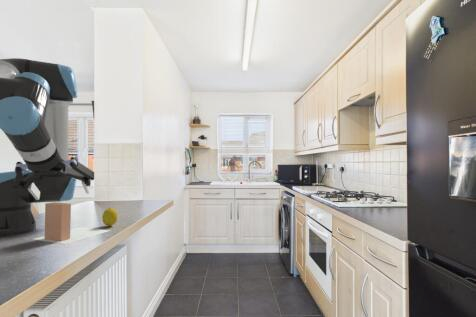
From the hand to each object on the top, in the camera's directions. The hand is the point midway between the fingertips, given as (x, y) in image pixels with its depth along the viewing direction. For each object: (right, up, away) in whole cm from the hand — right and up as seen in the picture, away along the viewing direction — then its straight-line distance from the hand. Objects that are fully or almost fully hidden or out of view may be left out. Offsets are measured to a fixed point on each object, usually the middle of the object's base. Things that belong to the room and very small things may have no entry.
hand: (63, 193), depth 81 cm
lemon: (+4, -17, +22) cm, 28 cm away
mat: (-3, -17, +10) cm, 20 cm away
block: (-5, -16, +4) cm, 18 cm away
